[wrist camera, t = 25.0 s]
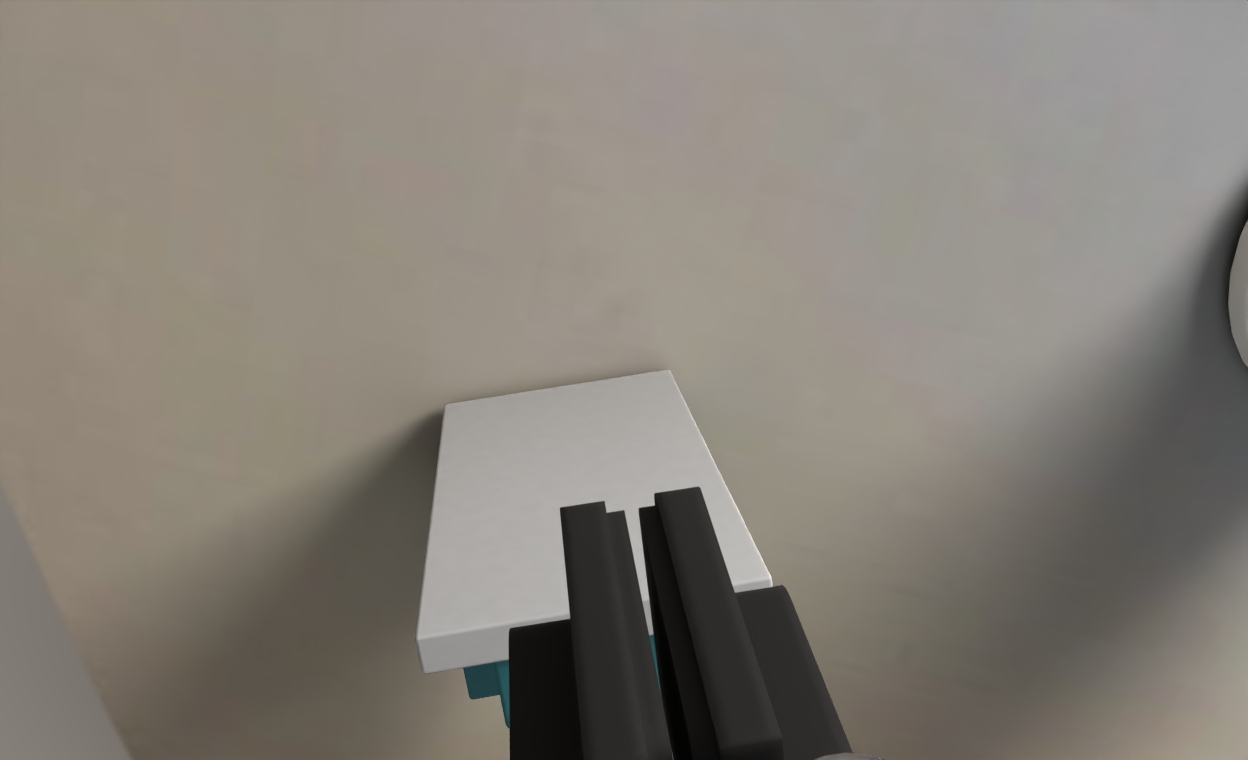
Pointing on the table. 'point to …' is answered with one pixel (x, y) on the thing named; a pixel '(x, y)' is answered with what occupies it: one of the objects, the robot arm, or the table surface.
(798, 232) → the table surface
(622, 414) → the iron
